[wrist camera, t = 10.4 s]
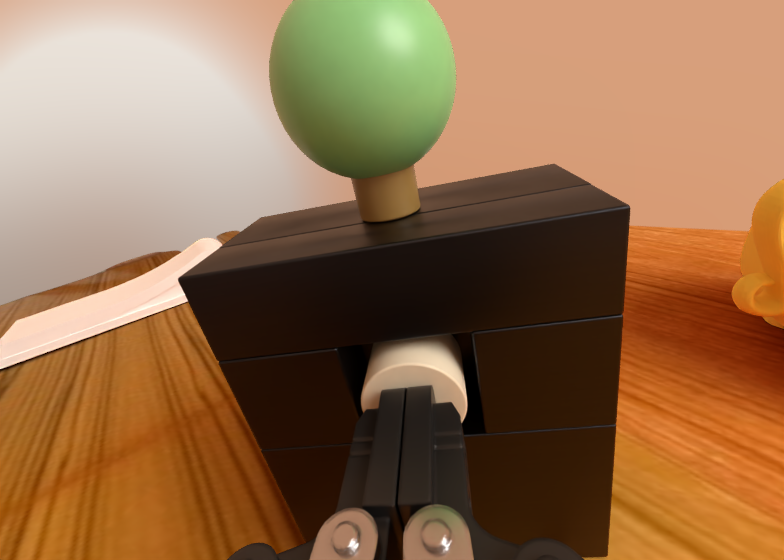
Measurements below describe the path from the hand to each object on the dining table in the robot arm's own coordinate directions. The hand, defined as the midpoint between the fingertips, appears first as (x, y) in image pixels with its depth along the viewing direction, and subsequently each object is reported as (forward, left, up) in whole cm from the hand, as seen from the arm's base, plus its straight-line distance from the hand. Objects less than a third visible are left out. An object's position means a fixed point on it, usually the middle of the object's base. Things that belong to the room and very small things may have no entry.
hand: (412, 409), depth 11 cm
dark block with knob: (-1, +3, -9) cm, 10 cm away
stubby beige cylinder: (0, +1, -1) cm, 2 cm away
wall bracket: (-47, +16, -5) cm, 50 cm away
